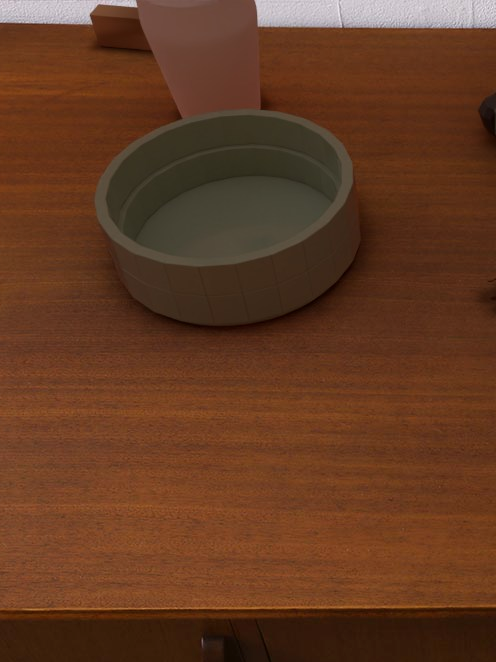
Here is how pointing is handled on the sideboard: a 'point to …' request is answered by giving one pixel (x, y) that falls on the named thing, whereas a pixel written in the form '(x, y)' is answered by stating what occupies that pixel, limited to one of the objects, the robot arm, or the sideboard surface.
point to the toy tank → (489, 114)
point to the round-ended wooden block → (118, 27)
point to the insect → (492, 281)
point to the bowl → (230, 216)
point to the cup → (205, 52)
